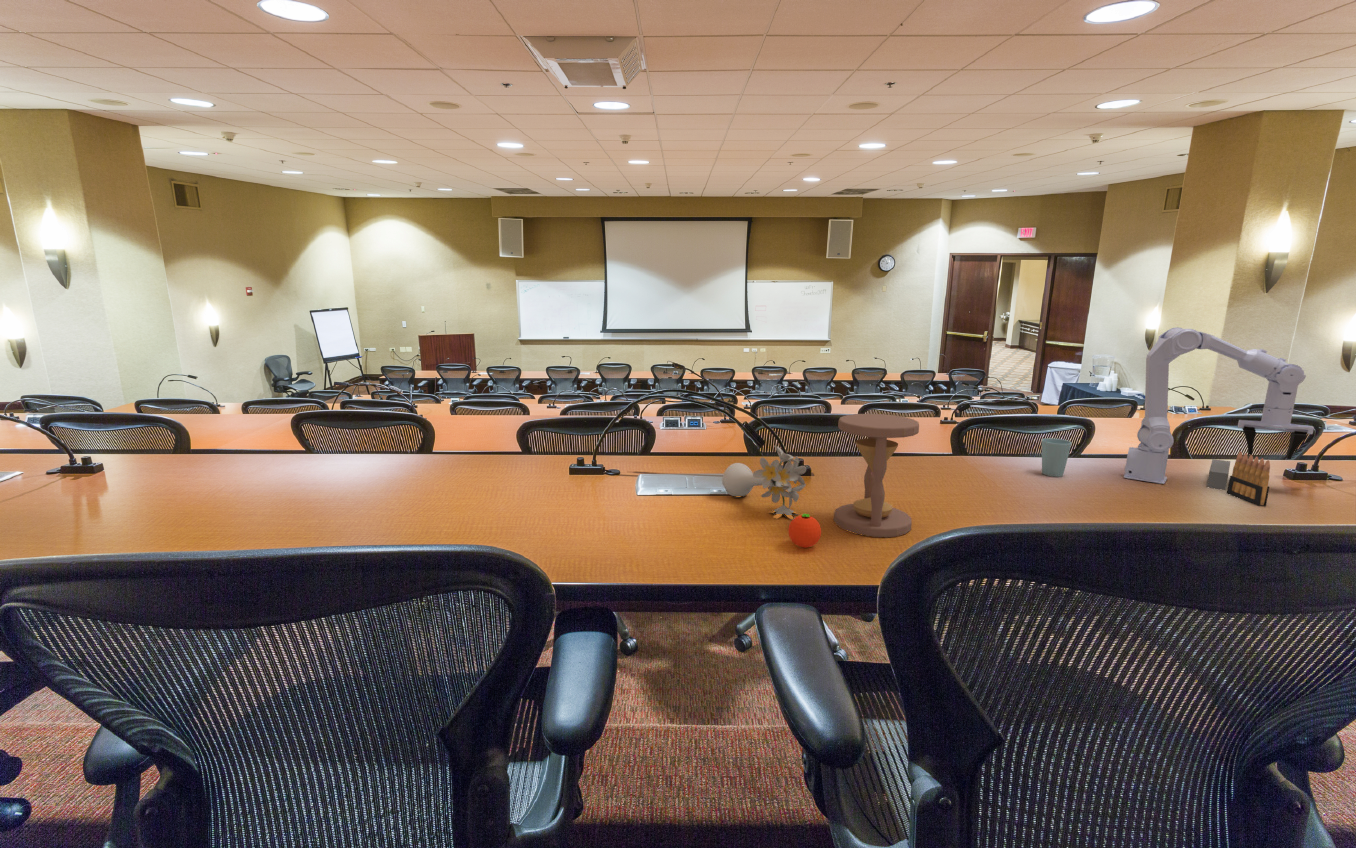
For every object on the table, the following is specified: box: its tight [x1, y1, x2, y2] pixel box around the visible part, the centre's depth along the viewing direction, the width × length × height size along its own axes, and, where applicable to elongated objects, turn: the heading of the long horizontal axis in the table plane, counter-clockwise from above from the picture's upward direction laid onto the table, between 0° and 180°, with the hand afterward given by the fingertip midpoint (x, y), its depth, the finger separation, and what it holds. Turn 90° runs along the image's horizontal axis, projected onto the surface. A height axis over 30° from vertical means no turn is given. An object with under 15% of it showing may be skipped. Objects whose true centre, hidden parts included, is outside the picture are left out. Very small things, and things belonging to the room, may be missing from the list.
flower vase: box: [721, 445, 807, 515], centre depth 154 cm, size 13×18×25 cm
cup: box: [1041, 437, 1072, 478], centre depth 181 cm, size 8×8×10 cm
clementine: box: [787, 513, 822, 549], centre depth 129 cm, size 8×7×7 cm
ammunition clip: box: [1226, 451, 1271, 507], centre depth 157 cm, size 11×2×12 cm, turn 173°
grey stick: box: [1206, 458, 1231, 491], centre depth 173 cm, size 4×18×5 cm, turn 137°
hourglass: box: [833, 413, 920, 538], centre depth 139 cm, size 18×18×25 cm
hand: (1268, 456), depth 165 cm, fingers open, 7 cm apart
